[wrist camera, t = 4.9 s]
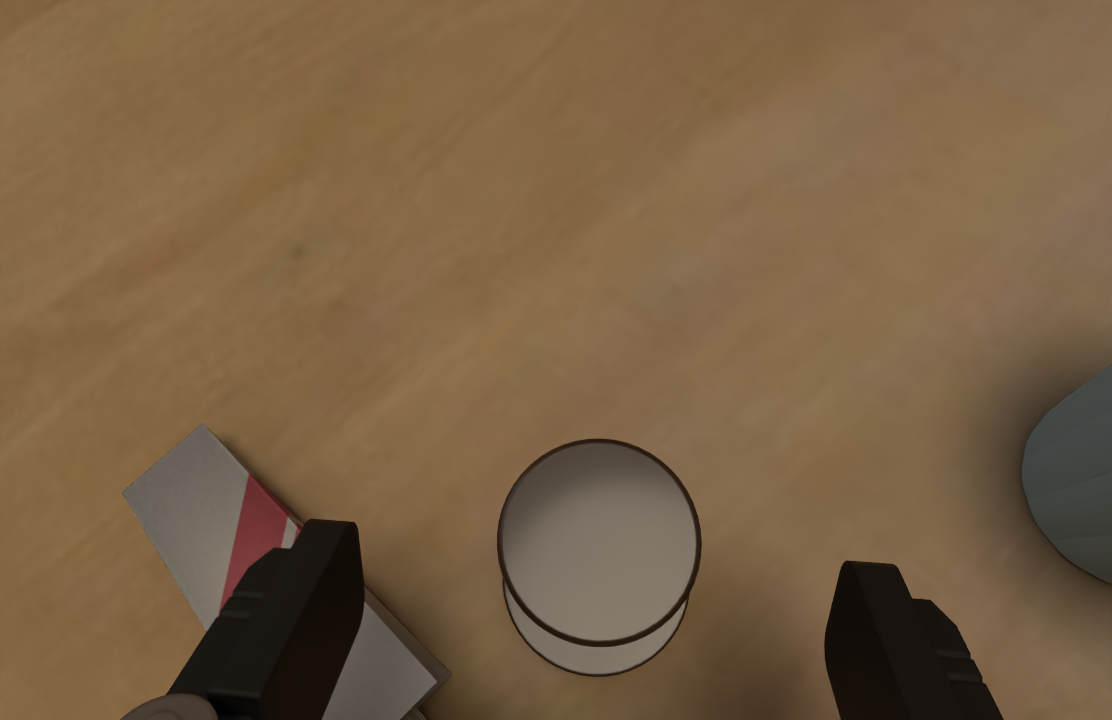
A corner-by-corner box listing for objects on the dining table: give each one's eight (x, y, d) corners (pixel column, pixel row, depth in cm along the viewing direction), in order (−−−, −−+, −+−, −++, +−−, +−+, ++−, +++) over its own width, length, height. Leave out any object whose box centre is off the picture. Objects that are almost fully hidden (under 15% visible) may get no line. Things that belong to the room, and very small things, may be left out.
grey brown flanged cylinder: (713, 552, 22) (824, 485, 11) (625, 709, 21) (658, 794, 10) (568, 462, 23) (549, 326, 12) (476, 607, 22) (369, 590, 11)
